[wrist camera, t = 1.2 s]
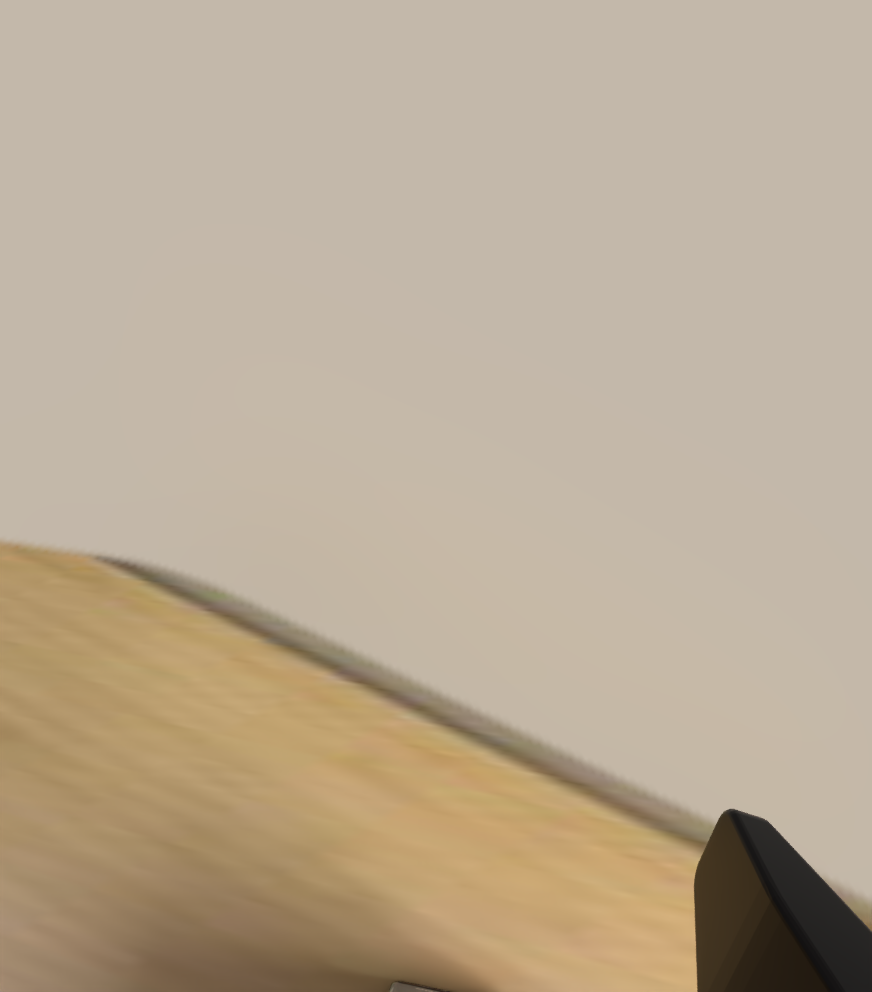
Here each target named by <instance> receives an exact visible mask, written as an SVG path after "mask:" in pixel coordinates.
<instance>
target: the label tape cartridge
mask: <svg viewBox="0 0 872 992" xmlns="http://www.w3.org/2000/svg"><path fill="white" fill-rule="evenodd" d="M389 992H448V991H443V990H439V989H434V988H430V987H425V986H421V985H417V984H412V983H406V982H400V981H398V982H394V983H393V984H392V985H391V988H390V991H389Z"/></svg>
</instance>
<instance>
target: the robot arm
mask: <svg viewBox="0 0 872 992" xmlns="http://www.w3.org/2000/svg"><path fill="white" fill-rule="evenodd" d="M694 903H695V933H696V962H697V992H872V931H871V930H870V929H869V928H868V927H867V926H866V925H865V924H864V923H863V922H862V921H861V920H860V918H859V917H858V916H857V915H856V914H855V913H854V912H853V911H852V910H851V909H850V908H849V907H848V906H847V905H846V904H845V902H844V901H843V900H842V899H841V898H840V897H839V896H838V895H837V894H836V893H835V892H834V891H833V890H832V889H831V888H830V887H829V885H828V884H827V883H826V882H825V881H824V880H823V879H822V878H821V877H820V876H819V875H818V874H817V873H816V872H815V871H814V869H813V868H812V867H811V866H810V865H809V864H808V863H807V862H806V861H805V860H804V859H803V858H802V857H801V856H800V855H799V854H798V852H797V851H796V850H794V848H793V847H792V846H791V845H790V844H789V843H788V842H787V841H786V840H785V839H784V838H783V836H781V834H780V833H779V832H778V831H777V830H776V829H775V828H774V827H773V826H772V825H771V824H770V823H769V822H768V821H767V820H765V819H763V818H760V817H757V816H754V815H750V814H748V813H745V812H741V811H738V810H735V809H729V810H726V811H724V812H723V814H722V815H721V816H720V818H719V820H718V822H717V824H716V826H715V828H714V830H713V833H712V835H711V837H710V839H709V841H708V843H707V846H706V848H705V850H704V852H703V854H702V856H701V859H700V861H699V863H698V866H697V869H696V874H695V880H694Z"/></svg>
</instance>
